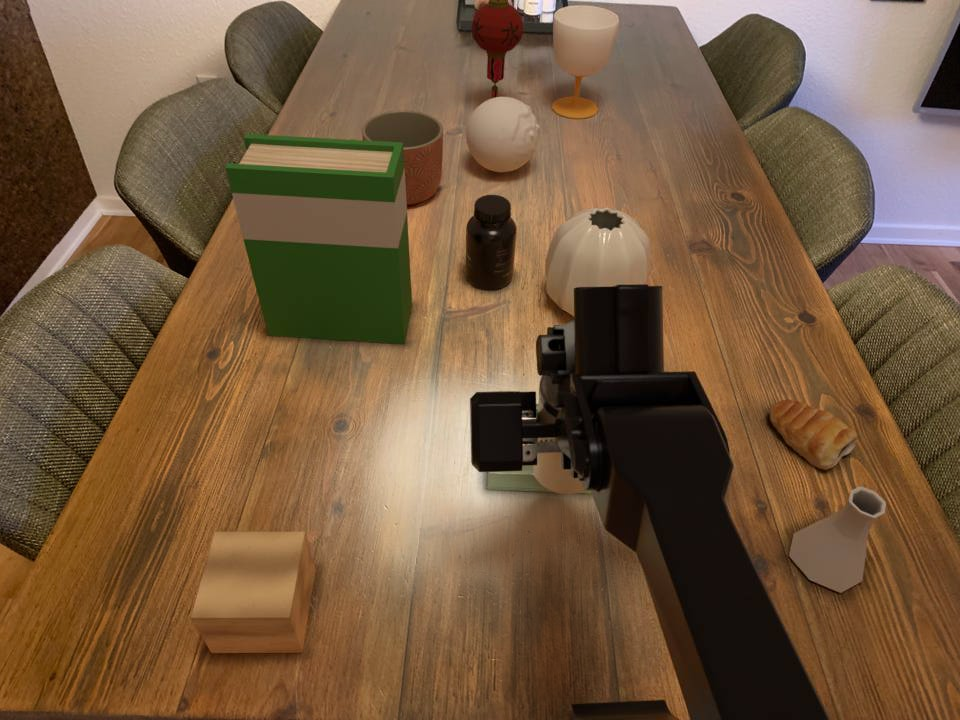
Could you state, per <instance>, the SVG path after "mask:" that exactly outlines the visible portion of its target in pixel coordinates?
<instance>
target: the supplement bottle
mask: <svg viewBox="0 0 960 720" xmlns="http://www.w3.org/2000/svg"><path fill="white" fill-rule="evenodd" d="M511 210H512V205H511V202H510V201H509V199H507V197H504V196H501V195H498V194H485V195H482V196H480V197H478V198H477V199H476V200H475V202H474V206H473V215H472V216H471V217H470V219H469V220H468V221H467V223H466V227H465V266H464V267H465V271H464V272H465V277H466V278H467V281H468V282H469V283H470V284H472V285H473V286H474V287H476V288H478V289H479V288H480V289H481V290H488V291H489V290H490V291H491V290H498V289H501V288H503V287H505V286H507V285H508V284H509V283H511V281H512V279H513V277H514V269H515V259H516V258H515V256H516V255H515V254H516V245H517V231H518V229H517V224H516V222H515V220H514V219H513V218H512V211H511Z"/></svg>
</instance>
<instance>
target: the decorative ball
mask: <svg viewBox="0 0 960 720" xmlns="http://www.w3.org/2000/svg"><path fill="white" fill-rule="evenodd" d="M540 129H541V127H540V125H539V124H538V120H537V118H536V115H535V114H533V111H532V108H531V107H530V105H528V104H527V103H525V102H522V101H521V100H519V99H517V98H514V97H511V96H498V97H495V98H492V99H491V98H489V99H486V100H485V101H483V102H482V103H481V104H480V105H478V106H477V107H476V108H475V110H474V111H473V112H472V114H471V115H470V118H469V119H468V122H467V126H466V133H465V137H466V144H467V148H468V150H469V153H470V155H471V156H472V158H473V159H474V160H475V161H476V162H477V164H479V165H480V166H482V168H484V169H486V170H489V171H492V172H495V173H510V172H512V171H515V170H518V169H519V168H521V167H522V166H524V165H525V164H526V163H528V162H529V160H530V159H531V158H532V157H533V155H534V153H536V152H537V149H538V146H539V141H540V140H539V131H540Z"/></svg>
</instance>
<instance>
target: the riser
mask: <svg viewBox="0 0 960 720" xmlns="http://www.w3.org/2000/svg"><path fill="white" fill-rule="evenodd" d="M316 571H317V569H316V565H315V562H314V558H313V555H312V552H311V549H310V545H309V540H308V538H307V534H306V531H214V534H213V537H212V541H211V544H210V548H209V551H208V554H207V558H206V562H205V564H204V570H203V571H202V572H203V573H202V575H201V579H200V583H199V586H198V589H197V594H196V598H195V601H194V604H193V608H192V611H191V615H190V619H191V621H192V623H193V624H194V627H195V628H196V630H197V631H198V633H199V634H200V636H201V638H202V640H203V642H204V643H205V645H206V646H207V649H208V650H209V651H210V653H211V654H302V653H303V652H304V647H305V641H306V633H307V627H308V620H309V615H310V608H311V602H312V597H313V591H314V583H315V578H316Z"/></svg>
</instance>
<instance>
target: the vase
mask: <svg viewBox="0 0 960 720" xmlns="http://www.w3.org/2000/svg"><path fill="white" fill-rule="evenodd" d="M651 267H652V246H651V241H650V239H649V236H648V234H647V233H646V232H645V231H644V230H643V229H642V228H641V225H640V223H639V222H638V221H637V220H636V219H635V218H633V217H632V216H630V215H628V214H627V213H625V212H624V211H621V210H618V209H613V208H612V207H607V206H602V207H592V208H586V209H583V210H580V211H577V212H575V213H572V214H571V215H570V216H569V218H568V219H567V220H566V221H565V222H563V223H561V224H560V225H559V227H558V228H557V229H556V230H555V232H554V234H553V236H552V238H551V240H550V243H549V247H548V249H547V253H546V256H545V264H544V276H545V278H546V282H545V291H546V294H547V295H548V297H549V298H550V299H551V300H552V302H554V303H555V304H556V306H558V307H559V308H560V309H561V310H562V311H565V312H566V313H568V314H569V315H571V316H572V317H574V288H576V287H612V286H616V285H633V284H648V282H649V279H650V274H651Z"/></svg>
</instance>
